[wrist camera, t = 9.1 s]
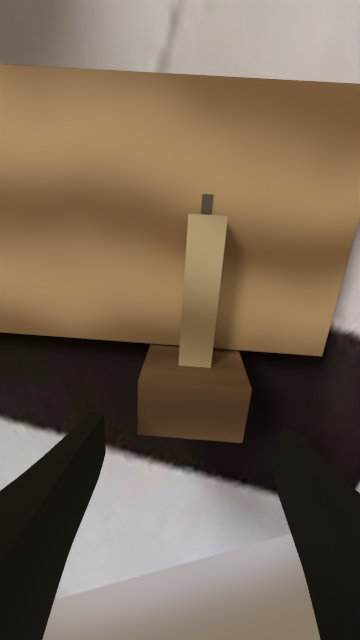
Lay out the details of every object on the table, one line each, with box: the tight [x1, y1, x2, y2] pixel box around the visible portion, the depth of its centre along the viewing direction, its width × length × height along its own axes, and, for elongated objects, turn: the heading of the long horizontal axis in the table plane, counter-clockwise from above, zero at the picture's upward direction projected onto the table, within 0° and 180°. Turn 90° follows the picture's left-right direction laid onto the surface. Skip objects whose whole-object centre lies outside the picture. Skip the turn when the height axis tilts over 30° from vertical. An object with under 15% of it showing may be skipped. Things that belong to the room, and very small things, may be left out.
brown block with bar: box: [138, 214, 252, 443], centre depth 14 cm, size 11×5×6 cm, turn 177°
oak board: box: [0, 64, 360, 356], centre depth 14 cm, size 12×30×2 cm, turn 86°
